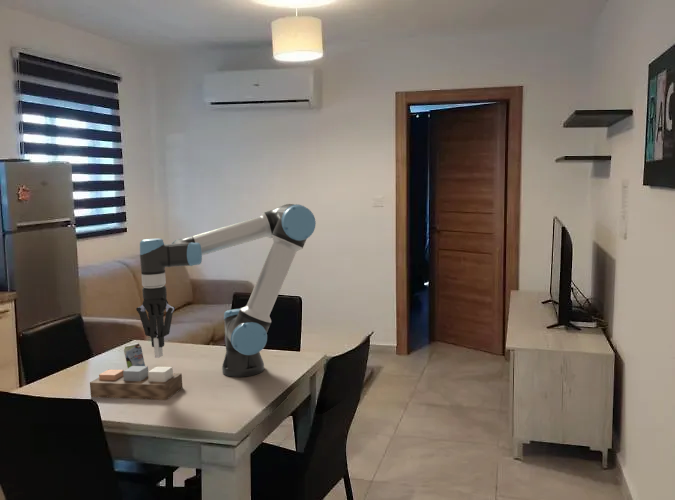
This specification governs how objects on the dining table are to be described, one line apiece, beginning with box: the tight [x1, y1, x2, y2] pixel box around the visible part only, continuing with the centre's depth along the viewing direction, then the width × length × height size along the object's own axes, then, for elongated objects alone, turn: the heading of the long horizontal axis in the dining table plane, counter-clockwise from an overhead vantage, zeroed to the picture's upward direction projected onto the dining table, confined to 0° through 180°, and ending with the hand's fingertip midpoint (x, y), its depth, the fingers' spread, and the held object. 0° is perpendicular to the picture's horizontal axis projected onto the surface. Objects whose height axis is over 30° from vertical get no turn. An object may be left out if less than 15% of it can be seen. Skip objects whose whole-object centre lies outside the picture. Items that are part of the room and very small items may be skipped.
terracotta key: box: [98, 369, 125, 380], centre depth 215 cm, size 6×6×4 cm
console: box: [89, 372, 184, 401], centre depth 213 cm, size 27×12×5 cm, turn 78°
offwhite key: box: [148, 366, 174, 382], centre depth 211 cm, size 6×6×4 cm
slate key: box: [123, 365, 149, 381], centre depth 213 cm, size 6×6×4 cm
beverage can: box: [123, 342, 146, 369], centre depth 231 cm, size 6×7×12 cm
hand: (158, 356), depth 210 cm, fingers closed
